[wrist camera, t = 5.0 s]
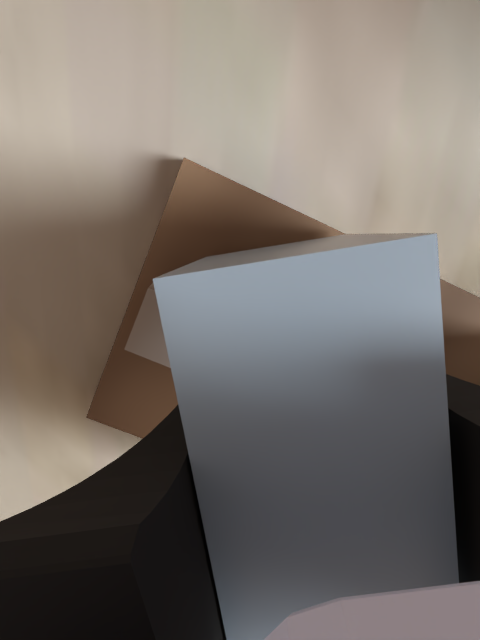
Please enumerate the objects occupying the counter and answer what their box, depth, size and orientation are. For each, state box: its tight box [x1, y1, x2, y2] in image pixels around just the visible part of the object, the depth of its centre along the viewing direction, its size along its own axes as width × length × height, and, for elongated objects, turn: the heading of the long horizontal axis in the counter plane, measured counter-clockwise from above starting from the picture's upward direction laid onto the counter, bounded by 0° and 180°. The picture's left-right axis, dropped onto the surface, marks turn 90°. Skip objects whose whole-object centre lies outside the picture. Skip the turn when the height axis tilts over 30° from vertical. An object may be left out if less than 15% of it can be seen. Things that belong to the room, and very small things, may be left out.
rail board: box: [87, 158, 480, 438], centre depth 11 cm, size 17×9×7 cm, turn 66°
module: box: [153, 233, 459, 640], centre depth 9 cm, size 4×9×6 cm, turn 10°
